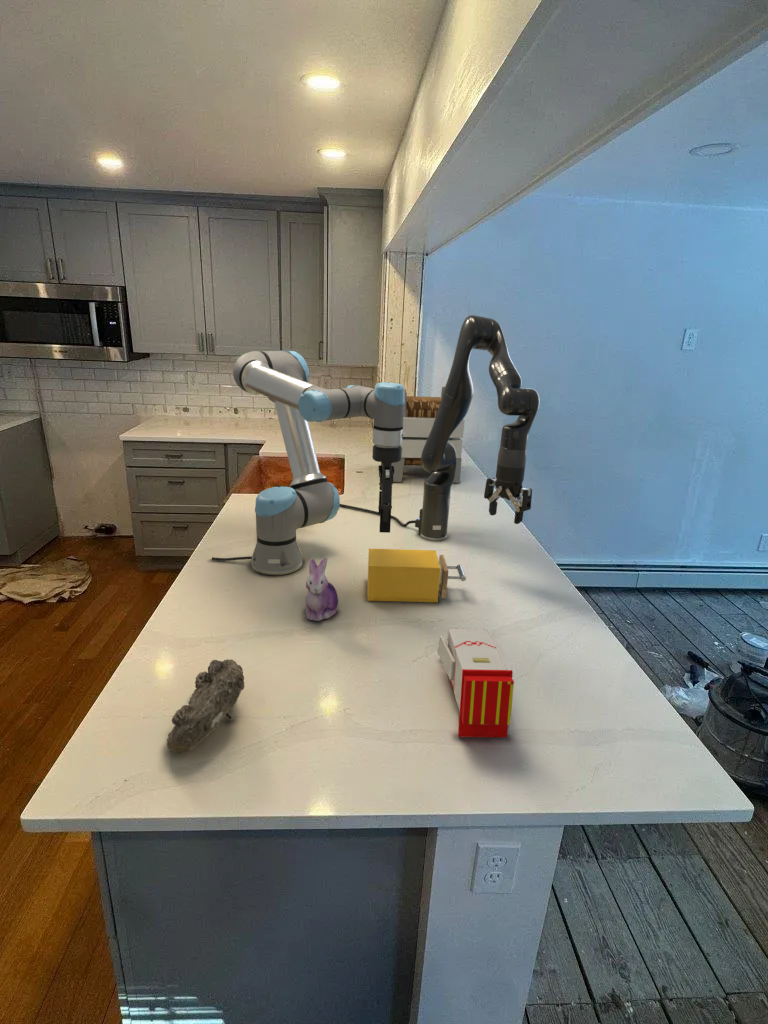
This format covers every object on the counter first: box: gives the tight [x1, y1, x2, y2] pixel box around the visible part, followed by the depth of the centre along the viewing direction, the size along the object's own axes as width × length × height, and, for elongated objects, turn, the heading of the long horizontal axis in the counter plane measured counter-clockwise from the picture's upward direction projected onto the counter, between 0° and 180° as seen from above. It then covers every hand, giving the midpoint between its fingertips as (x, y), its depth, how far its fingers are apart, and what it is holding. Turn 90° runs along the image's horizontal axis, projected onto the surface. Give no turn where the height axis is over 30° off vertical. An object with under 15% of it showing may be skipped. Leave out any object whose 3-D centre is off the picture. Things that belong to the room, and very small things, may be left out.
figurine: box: [305, 557, 339, 622], centre depth 144 cm, size 9×10×15 cm
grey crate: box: [391, 386, 465, 484], centre depth 268 cm, size 34×33×41 cm
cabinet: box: [367, 548, 440, 603], centre depth 158 cm, size 19×12×10 cm, turn 92°
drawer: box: [438, 554, 467, 599], centre depth 158 cm, size 23×10×8 cm, turn 92°
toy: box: [437, 628, 515, 738], centre depth 117 cm, size 12×13×30 cm
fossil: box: [166, 658, 245, 754], centre depth 106 cm, size 22×10×15 cm
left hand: (383, 522), depth 152 cm, fingers open, 13 cm apart
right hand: (504, 518), depth 159 cm, fingers open, 8 cm apart
